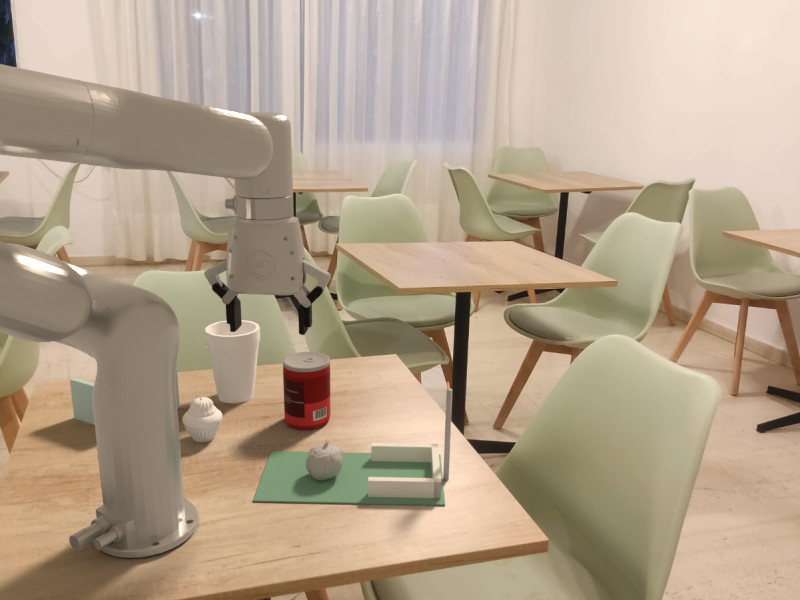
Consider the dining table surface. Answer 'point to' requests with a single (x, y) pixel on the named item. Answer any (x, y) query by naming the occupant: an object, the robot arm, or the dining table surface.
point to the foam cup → (233, 359)
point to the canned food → (306, 390)
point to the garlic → (324, 461)
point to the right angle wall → (90, 399)
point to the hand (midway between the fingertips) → (269, 330)
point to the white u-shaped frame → (412, 454)
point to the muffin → (202, 420)
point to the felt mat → (337, 480)
